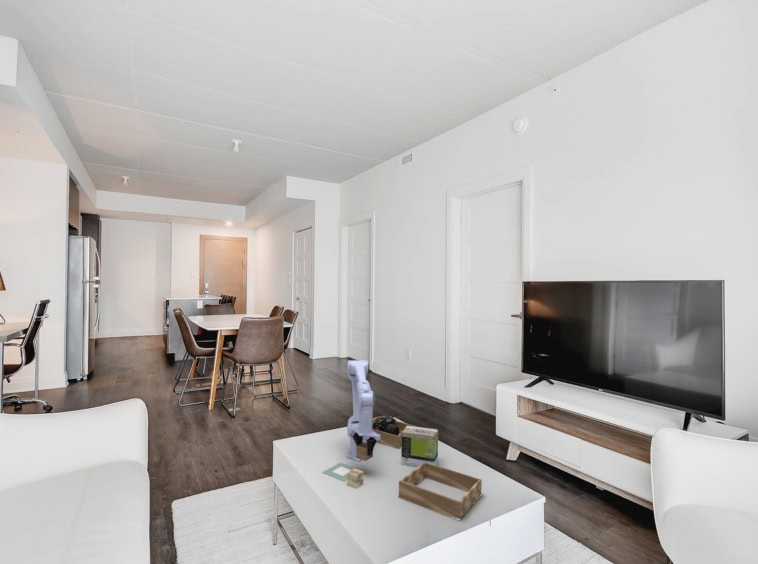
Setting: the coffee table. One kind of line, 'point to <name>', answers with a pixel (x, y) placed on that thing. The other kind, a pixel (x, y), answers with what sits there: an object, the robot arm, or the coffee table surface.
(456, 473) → the box
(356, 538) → the coffee table surface
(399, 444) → the camera crate
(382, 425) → the film camera
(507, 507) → the coffee table surface
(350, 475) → the maple block
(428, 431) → the tea box
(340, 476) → the build mat
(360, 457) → the walnut block
